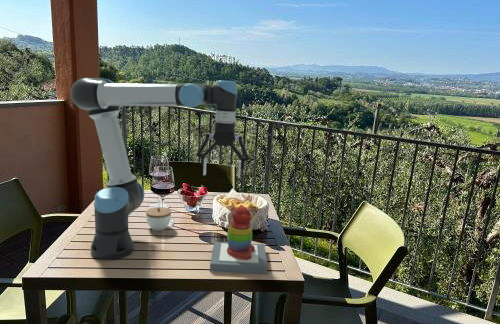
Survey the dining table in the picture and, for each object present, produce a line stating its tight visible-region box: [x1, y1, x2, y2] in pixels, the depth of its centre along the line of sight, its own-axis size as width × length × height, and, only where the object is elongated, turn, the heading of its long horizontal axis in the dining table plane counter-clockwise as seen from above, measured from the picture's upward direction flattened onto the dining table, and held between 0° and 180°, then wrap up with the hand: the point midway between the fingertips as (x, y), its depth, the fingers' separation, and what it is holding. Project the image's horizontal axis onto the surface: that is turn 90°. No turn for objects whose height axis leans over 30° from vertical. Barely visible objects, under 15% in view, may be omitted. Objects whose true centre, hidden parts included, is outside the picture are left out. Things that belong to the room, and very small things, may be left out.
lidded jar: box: [145, 206, 172, 231], centre depth 163 cm, size 11×11×9 cm
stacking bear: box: [226, 204, 255, 260], centre depth 136 cm, size 11×10×18 cm
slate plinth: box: [209, 241, 268, 275], centre depth 138 cm, size 20×18×3 cm
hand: (221, 175), depth 145 cm, fingers open, 13 cm apart
